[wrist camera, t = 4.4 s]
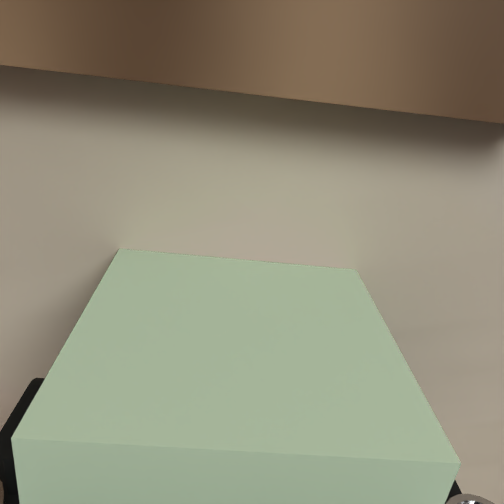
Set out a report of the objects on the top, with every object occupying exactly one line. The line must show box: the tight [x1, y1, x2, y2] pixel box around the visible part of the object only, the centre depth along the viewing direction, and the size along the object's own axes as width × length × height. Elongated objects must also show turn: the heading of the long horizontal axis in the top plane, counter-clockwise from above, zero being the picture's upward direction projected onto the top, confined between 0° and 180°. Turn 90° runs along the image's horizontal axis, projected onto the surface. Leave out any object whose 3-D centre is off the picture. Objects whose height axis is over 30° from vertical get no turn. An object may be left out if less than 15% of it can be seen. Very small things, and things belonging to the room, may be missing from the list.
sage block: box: [11, 249, 461, 504], centre depth 10 cm, size 6×6×6 cm
